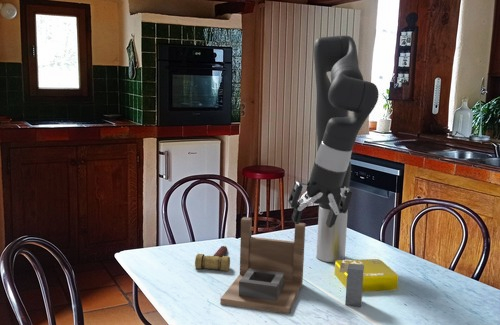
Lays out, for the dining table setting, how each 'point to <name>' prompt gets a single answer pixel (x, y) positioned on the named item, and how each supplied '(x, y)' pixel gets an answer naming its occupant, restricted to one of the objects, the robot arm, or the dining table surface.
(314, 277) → the dining table surface
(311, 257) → the dining table surface
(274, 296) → the wooden peg insertion stand
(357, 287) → the tan-topped grey pillar
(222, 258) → the gavel
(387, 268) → the element tile
